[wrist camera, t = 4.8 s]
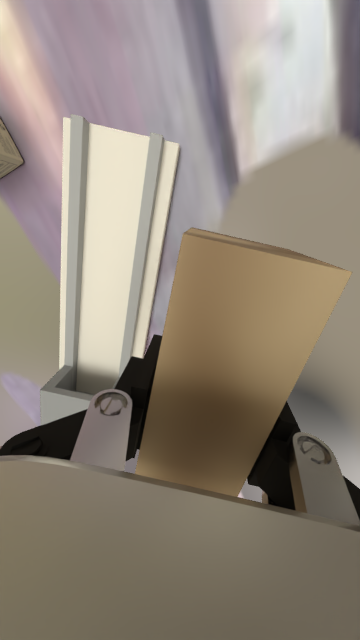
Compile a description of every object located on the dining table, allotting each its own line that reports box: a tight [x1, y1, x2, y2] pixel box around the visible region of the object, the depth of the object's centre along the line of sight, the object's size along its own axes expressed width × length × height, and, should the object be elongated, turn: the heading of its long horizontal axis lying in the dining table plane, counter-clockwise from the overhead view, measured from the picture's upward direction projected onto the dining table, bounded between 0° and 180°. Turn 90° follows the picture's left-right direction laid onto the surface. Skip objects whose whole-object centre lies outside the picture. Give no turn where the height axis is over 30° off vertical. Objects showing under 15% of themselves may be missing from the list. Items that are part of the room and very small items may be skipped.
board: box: [40, 114, 180, 425], centre depth 23 cm, size 10×30×7 cm, turn 168°
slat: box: [135, 228, 352, 497], centre depth 10 cm, size 4×12×4 cm, turn 168°
